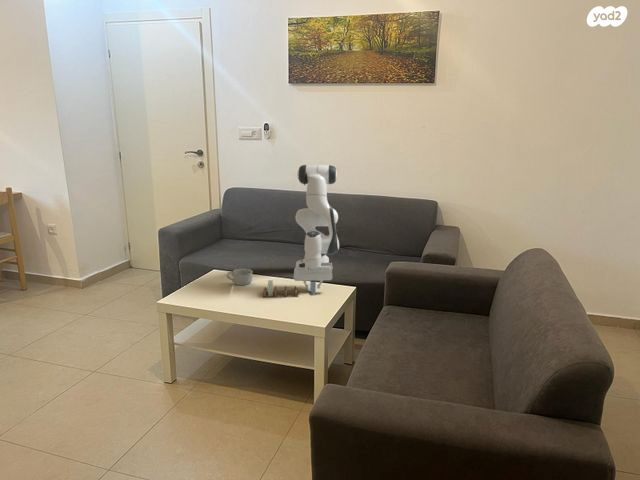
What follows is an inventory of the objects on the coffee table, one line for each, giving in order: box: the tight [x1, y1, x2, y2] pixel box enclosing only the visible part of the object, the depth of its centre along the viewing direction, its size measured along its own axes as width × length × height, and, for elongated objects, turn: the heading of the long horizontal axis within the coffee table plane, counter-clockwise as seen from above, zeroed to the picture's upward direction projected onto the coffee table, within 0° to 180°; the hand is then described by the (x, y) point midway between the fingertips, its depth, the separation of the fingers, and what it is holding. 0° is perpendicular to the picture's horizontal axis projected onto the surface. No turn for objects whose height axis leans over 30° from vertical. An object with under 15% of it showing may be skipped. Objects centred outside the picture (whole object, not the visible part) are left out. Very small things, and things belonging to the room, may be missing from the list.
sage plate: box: [267, 280, 274, 296], centre depth 240 cm, size 6×2×6 cm, turn 6°
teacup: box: [226, 268, 253, 286], centre depth 259 cm, size 14×11×8 cm
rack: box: [262, 285, 300, 299], centre depth 241 cm, size 12×18×4 cm, turn 96°
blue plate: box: [309, 281, 317, 295], centre depth 246 cm, size 6×2×6 cm, turn 6°
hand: (312, 288), depth 246 cm, fingers open, 5 cm apart
